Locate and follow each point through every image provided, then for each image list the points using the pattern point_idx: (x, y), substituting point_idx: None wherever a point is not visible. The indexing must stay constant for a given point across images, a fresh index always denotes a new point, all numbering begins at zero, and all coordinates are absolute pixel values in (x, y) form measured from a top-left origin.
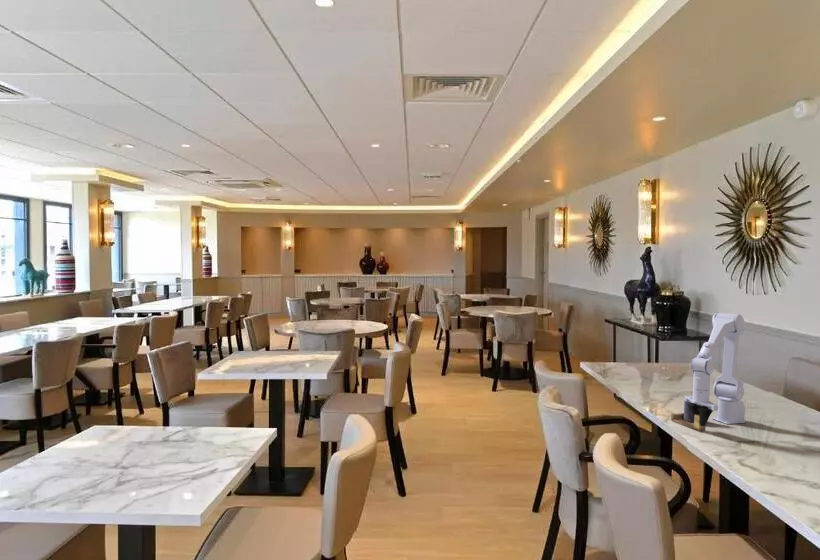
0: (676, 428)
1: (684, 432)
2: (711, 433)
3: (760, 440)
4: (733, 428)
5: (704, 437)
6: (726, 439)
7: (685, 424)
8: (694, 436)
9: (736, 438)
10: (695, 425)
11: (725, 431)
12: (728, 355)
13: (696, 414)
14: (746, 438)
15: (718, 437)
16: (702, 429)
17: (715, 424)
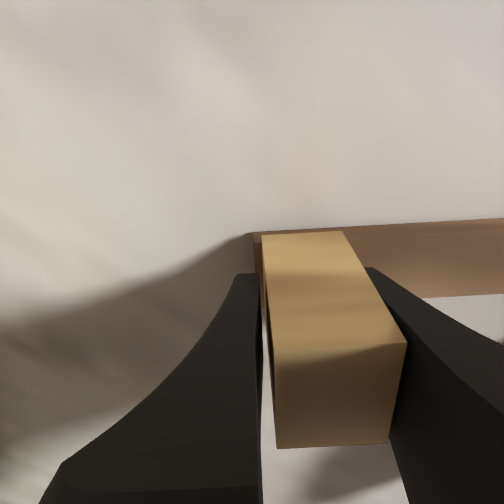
0: (463, 29)
1: (279, 10)
2: (194, 306)
3: (17, 489)
4: (282, 498)
5: (56, 140)
6: (8, 313)
7: (484, 225)
8: (93, 26)
9: (49, 396)
10: (324, 245)
11: None
12: None
13: (389, 370)
14: (55, 449)
15: (67, 286)
16: (256, 272)
17: (396, 462)
